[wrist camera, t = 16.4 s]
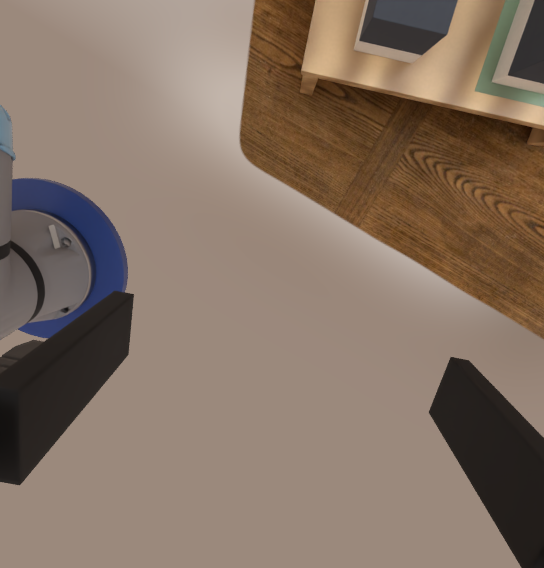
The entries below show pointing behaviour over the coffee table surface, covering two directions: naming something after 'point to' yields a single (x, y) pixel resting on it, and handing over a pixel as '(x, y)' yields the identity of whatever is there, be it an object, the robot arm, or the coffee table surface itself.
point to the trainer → (524, 49)
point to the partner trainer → (403, 27)
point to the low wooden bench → (427, 63)
